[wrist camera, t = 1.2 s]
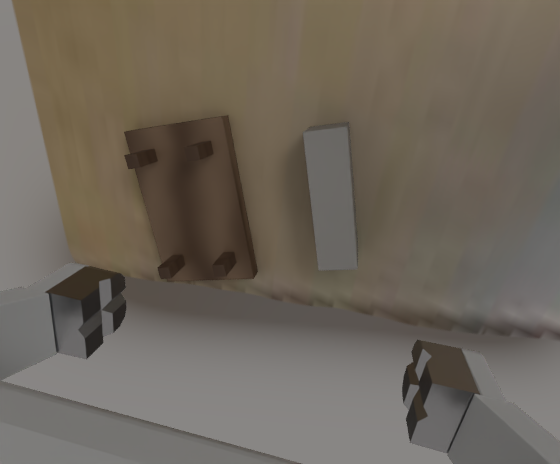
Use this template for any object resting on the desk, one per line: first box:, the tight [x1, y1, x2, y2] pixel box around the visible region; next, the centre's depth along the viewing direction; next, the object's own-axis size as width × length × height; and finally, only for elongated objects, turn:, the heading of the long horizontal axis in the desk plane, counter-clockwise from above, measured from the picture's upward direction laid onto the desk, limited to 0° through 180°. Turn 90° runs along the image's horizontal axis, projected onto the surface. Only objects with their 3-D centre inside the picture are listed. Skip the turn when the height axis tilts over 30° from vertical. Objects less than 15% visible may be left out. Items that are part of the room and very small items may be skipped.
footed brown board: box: [124, 115, 258, 281], centre depth 35 cm, size 10×16×4 cm, turn 9°
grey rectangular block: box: [303, 122, 358, 270], centre depth 32 cm, size 3×12×4 cm, turn 8°
